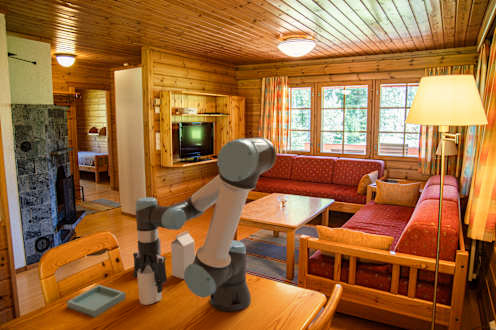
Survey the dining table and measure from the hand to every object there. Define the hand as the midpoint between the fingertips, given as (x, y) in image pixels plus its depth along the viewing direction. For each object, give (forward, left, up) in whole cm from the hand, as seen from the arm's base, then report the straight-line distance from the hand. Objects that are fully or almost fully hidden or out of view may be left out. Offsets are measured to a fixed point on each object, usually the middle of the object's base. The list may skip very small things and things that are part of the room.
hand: (151, 297), depth 132 cm
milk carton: (+1, -22, -1) cm, 22 cm away
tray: (+16, +11, -1) cm, 20 cm away
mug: (0, 0, -1) cm, 1 cm away
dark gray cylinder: (+18, -20, -1) cm, 27 cm away
